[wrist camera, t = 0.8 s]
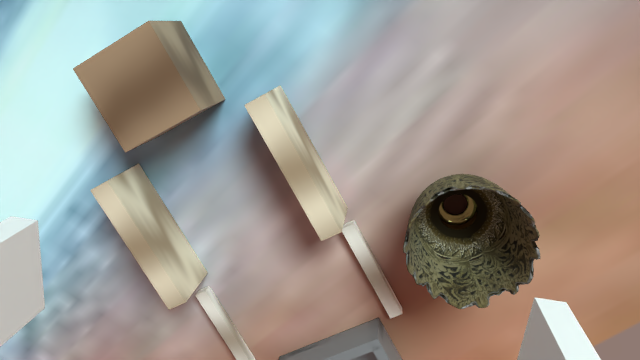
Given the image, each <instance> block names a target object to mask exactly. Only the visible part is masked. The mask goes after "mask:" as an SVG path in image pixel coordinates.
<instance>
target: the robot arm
mask: <svg viewBox="0 0 640 360" xmlns="http://www.w3.org/2000/svg"><path fill="white" fill-rule="evenodd" d="M44 308H45V303H44V291H43V279H42V267H41V255H40V243H39V231H38V220H32V219H25V218H19V217H12V216H11V217H9V218H7V219H5V220H4V221H2V222H0V347H1V346H2V345H3V344H4V343H5V342H6V341H8V340H9V339H10V338H11V337H12V336H13V335H14V334H16V333H17V332H18V331H19V330H20V329H21V328H23V327H24V326H25V325H26V324H27V323H28V322H29V321H31V320H32V319H33V318H34V317H35V316H36V315H37V314H39V313H40V312H41V311H42V310H43V309H44ZM517 360H600V358H599V356H598V354H597V353H596V351H595V349H594V348H593V346H592V344H591V343H590V341H589V339H588V338H587V336H586V334H585V333H584V331H583V329H582V328H581V326H580V324H579V323H578V321H577V319H576V318H575V316H574V314H573V313H572V311H571V309H570V308H569V306H568V305H567V303H566V302H560V301H554V300H547V299H541V298H534V301H533V305H532V308H531V312H530V316H529V319H528V323H527V326H526V330H525V334H524V337H523V341H522V344H521V348H520V352H519V355H518V359H517Z"/></svg>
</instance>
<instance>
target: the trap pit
mask: <svg viewBox="0 0 640 360" xmlns="http://www.w3.org/2000/svg"><path fill="white" fill-rule="evenodd" d="M279 360H402V358H401V356H400V355H399V353H398V351H397V349H396V347H395V346H394V344H393V342H392V340H391V339H390V337H389V335H388V333H387V331H386V330H385V328H384V326H383V324H382V323H381V321H380V319H379V318H376V319H374V320H371V321H369V322H366V323H364V324H361V325H359V326H356V327H354V328H351V329H349V330H346V331H344V332H341V333H338V334H336V335H333V336H331V337H328V338H326V339H323V340H321V341H318V342H316V343H313V344H311V345H308V346H306V347H303V348H300V349H298V350H295V351H293V352H290V353H288V354H285V355H283V356H280V357H279Z"/></svg>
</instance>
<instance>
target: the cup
mask: <svg viewBox="0 0 640 360" xmlns="http://www.w3.org/2000/svg"><path fill="white" fill-rule="evenodd" d="M454 194H462V195H463V196H464V197H465V198H466V200H467V207H466V209H465V211H464V212H462V213H461V214H458V215H452V214H450V213H448V212H447V211H446V210H445V209H444V205H443V203H444V200H445V199H446V198H447V197H449V196H451V195H454ZM538 238H539V232H538V230H537V229H536V225H535V221H534V219H533V217H532V216H531V215H530V213H529V212H528V211H527V210H526V209H525V208H524V207H523V206H522V205H521V203H520V202H519V201H518V200H517V199H515V198H513V197H512V196H511V195H510V194H508V193H507V192H506V191H505V190H503V189H502V188H501V187H499V186H498V185H496V184H495V183H493V182H491V181H489V180H487V179H485V178H482V177H479V176H475V175H469V174H456V175H451V176H447V177H444V178H441V179H439V180H437V181H435V182H434V183H432V184H431V185H430V186H429V187H427V188H426V189H425V190H424V191H423V192H422V194H421V195H420V196H419V198H418V199H417V201H416V203H415V205H414V207H413V209H412V212H411V215H410V219H409V223H408V227H407V232H406V237H405V242H404V246H403V252H404V253H406V264H407V268H408V271H409V273H410V274H411V275H413V277H414V279H415V282H416V284H417V285H422V286H424V285H426V286H427V289H428V292H429V293H430V295H431V296H432V298H433V299H435V298H437V297H438V296H441V297H442V298H444V299H445V300H446V302H447V303H449V304H450V305H452V306H454V307H456V308H458V309H464V308H467V307H469V306H470V307H471V306H473V305H476V306H477V307H478V308H486V307H488V305H489V298H490V296H493V295H500V294H501V293H502V292H504V291H505V290H506V291H509V292H510V293H511V294H513V295H514V294H516V293H517V292H518V289H519V286H518V285H520V284H529V283H530V282H531V280H532V278H533V272H534V270H533V260H534V259H536V260H537V259H540V252H539V248H538V247H537V245H536V243H535V241H538Z"/></svg>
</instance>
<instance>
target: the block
mask: <svg viewBox="0 0 640 360" xmlns="http://www.w3.org/2000/svg"><path fill="white" fill-rule="evenodd" d="M73 70H74V71H75V73H76V75H77V76H78V78H79V79H80V81H81V83H82V84H83V86H84V87H85V89H86V91H87V92H88V94H89V95H90V97H91V99H92V100H93V102H94V103H95V105H96V107H97V108H98V110H99V111H100V113H101V115H102V116H103V118H104V119H105V121H106V123H107V124H108V126H109V127H110V129H111V131H112V132H113V134H114V135H115V137H116V139H117V140H118V142H119V143H120V145H121V147H122V148H123V150H124V151H125V152H127V151H130V150H132V149H134V148H136V147H138V146H140V145H142V144H144V143H146V142H148V141H150V140H152V139H154V138H157V137H159V136H160V135H162V134H164V133H166V132H168V131H169V130H171V129H173V128H175V127H177V126H178V125H180V124H182V123H184V122H186V121H187V120H189V119H191V118H193V117H195V116H196V115H198V114H200V113H202V112H204V111H205V110H207V109H209V108H211V107H213V106H214V105H216V104H218V103H220V102H222V101H223V100H225V98H224V96H223V94H222V92H221V91H220V89H219V87H218V85H217V84H216V82H215V80H214V78H213V77H212V75H211V73H210V71H209V70H208V68H207V66H206V64H205V63H204V61H203V59H202V57H201V56H200V54H199V52H198V50H197V49H196V47H195V45H194V43H193V42H192V40H191V38H190V36H189V34H188V33H187V31H186V29H185V27H184V26H183V24H182V22H181V21H148V22H146V23H144V24H143V25H141V26H140V27H138V28H137V29H135V30H133V31H132V32H130V33H129V34H127V35H125V36H124V37H122V38H121V39H119V40H118V41H116V42H114V43H113V44H111V45H110V46H108V47H106V48H105V49H103V50H102V51H100V52H99V53H97V54H95V55H94V56H92V57H91V58H89V59H87V60H86V61H84V62H83V63H81V64H80V65H78V66H76V67H75V68H73Z"/></svg>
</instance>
